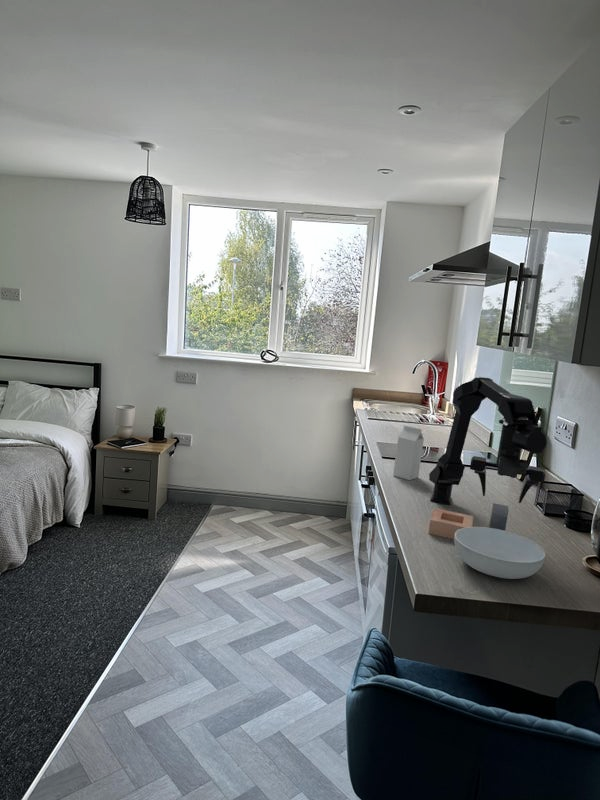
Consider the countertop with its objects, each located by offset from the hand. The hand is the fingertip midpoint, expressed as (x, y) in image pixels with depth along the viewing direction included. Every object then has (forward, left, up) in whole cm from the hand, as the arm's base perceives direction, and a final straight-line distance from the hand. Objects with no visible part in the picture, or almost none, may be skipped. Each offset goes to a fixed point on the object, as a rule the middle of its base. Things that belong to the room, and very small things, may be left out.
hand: (501, 499), depth 149 cm
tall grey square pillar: (0, 0, -12) cm, 12 cm away
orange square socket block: (0, -12, -12) cm, 17 cm away
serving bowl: (+19, 0, -12) cm, 23 cm away
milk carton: (-48, -32, -12) cm, 59 cm away
